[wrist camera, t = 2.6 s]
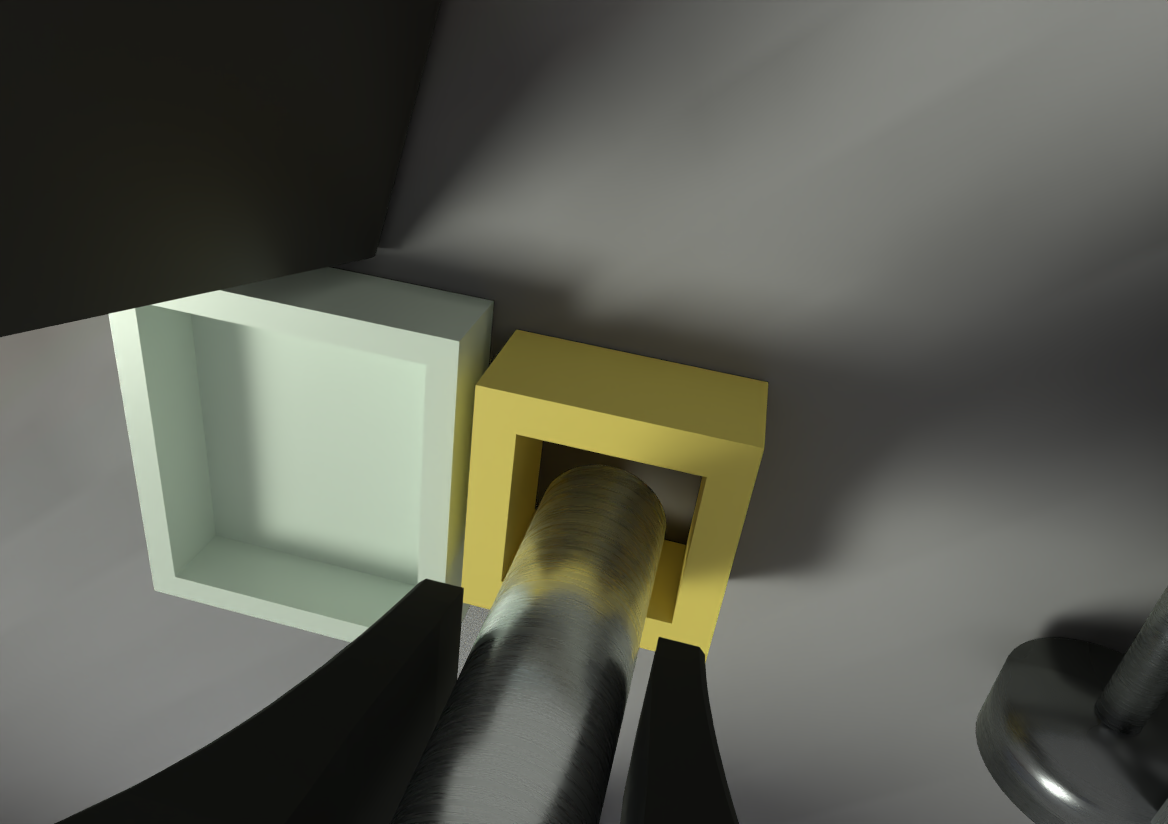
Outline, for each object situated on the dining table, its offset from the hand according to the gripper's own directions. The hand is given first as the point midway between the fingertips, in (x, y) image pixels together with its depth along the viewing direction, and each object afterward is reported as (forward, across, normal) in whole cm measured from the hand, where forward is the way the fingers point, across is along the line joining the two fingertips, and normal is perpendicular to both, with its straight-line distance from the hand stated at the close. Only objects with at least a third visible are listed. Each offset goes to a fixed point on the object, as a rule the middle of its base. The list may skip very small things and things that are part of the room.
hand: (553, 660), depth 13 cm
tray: (+6, +6, +1) cm, 9 cm away
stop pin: (+4, 0, 0) cm, 4 cm away
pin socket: (+6, 0, 0) cm, 6 cm away
